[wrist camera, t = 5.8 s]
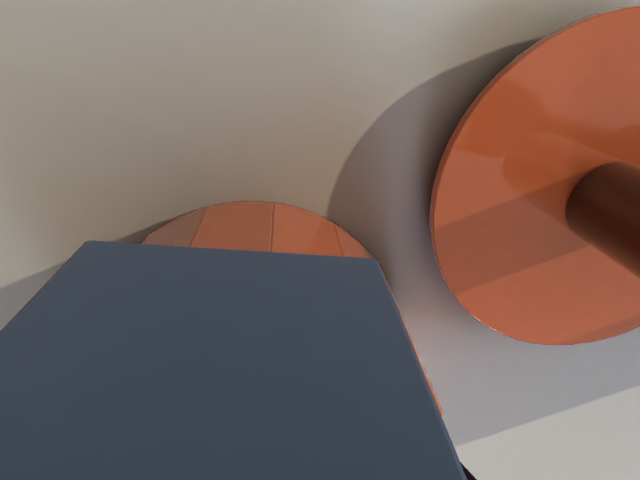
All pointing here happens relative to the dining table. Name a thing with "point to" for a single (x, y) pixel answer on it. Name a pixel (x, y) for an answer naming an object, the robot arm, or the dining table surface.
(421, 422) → the block
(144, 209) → the dining table surface
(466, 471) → the robot arm
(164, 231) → the crock
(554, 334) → the lid
